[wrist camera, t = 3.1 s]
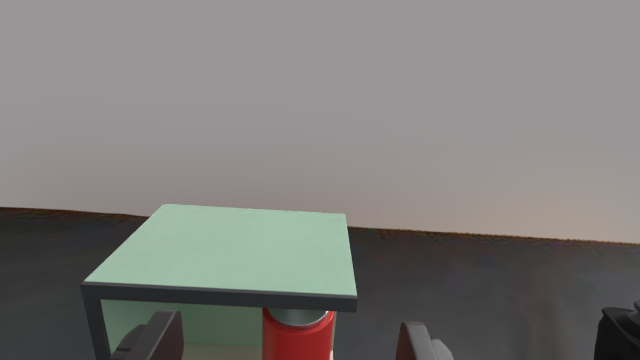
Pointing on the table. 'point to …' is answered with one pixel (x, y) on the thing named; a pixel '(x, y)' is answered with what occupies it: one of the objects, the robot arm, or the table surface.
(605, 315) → the controller
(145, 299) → the mint green cubby
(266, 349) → the red can
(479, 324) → the table surface
